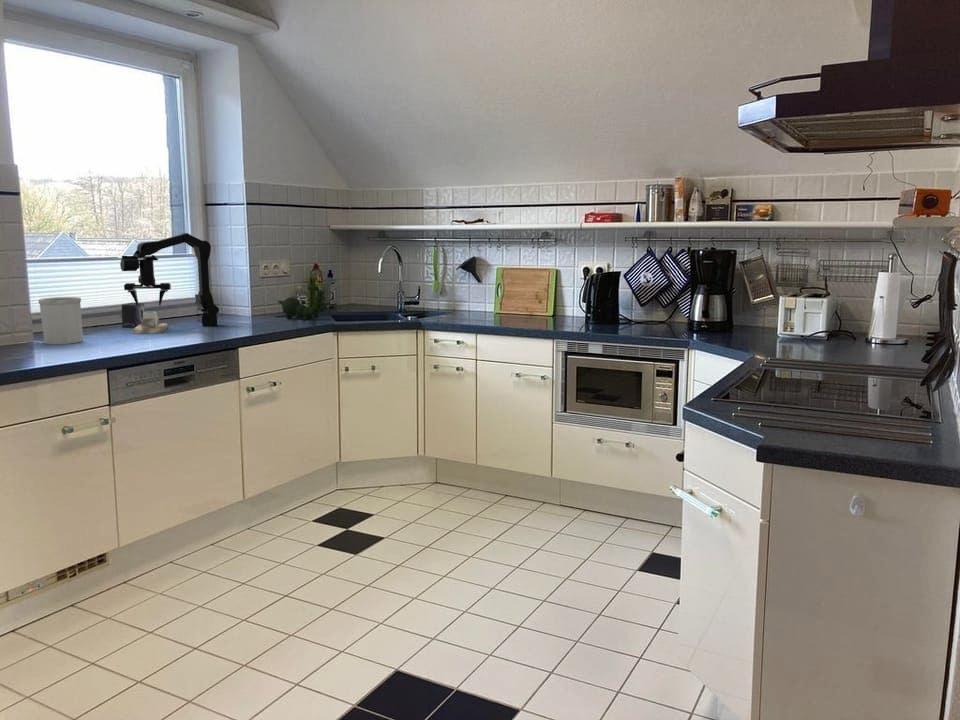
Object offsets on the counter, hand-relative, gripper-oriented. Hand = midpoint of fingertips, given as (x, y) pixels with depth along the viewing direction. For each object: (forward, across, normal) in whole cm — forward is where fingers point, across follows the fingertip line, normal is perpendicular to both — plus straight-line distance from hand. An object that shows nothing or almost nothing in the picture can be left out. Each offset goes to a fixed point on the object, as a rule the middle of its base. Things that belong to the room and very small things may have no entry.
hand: (148, 305), depth 343 cm
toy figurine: (+11, -68, -29) cm, 75 cm away
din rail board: (+11, 0, 0) cm, 11 cm away
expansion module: (+9, 0, 0) cm, 9 cm away
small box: (+11, +9, -17) cm, 22 cm away
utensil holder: (+11, +29, +31) cm, 44 cm away
